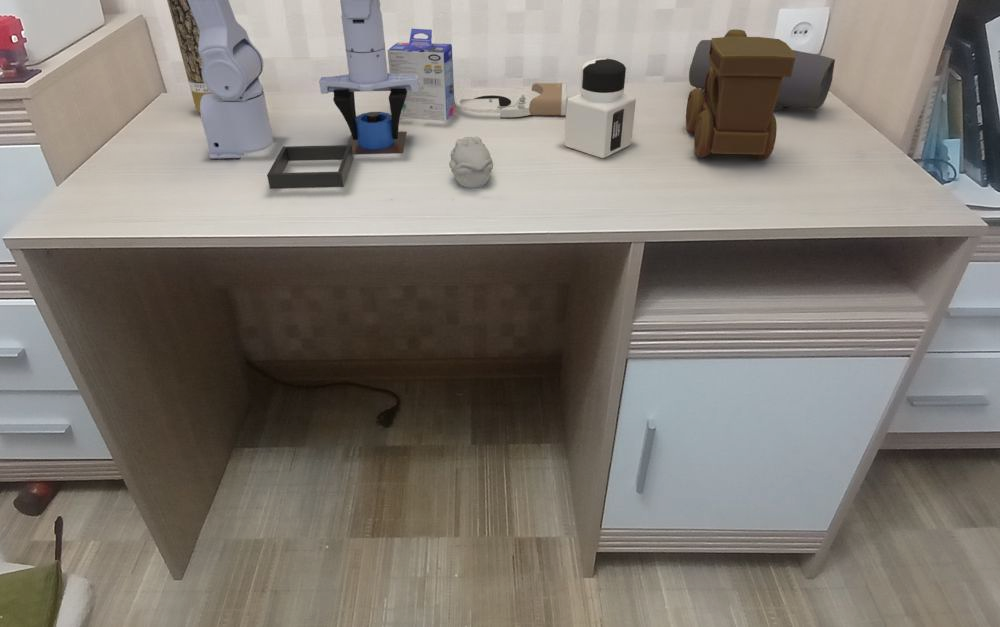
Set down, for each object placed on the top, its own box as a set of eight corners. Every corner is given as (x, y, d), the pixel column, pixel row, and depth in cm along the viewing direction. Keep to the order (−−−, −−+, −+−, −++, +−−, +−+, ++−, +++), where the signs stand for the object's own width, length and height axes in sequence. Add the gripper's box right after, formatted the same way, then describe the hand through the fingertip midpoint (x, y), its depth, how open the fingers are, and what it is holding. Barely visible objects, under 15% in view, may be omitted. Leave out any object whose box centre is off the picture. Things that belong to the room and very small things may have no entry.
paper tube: (244, 107, 128) (210, -46, 113) (213, 118, 123) (174, -39, 109) (219, 101, 131) (183, -49, 116) (188, 111, 126) (146, -43, 112)
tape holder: (344, 160, 108) (339, 125, 104) (352, 138, 115) (347, 104, 112) (403, 159, 108) (400, 123, 105) (407, 137, 115) (404, 103, 112)
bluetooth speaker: (683, 99, 129) (691, 42, 123) (702, 85, 135) (711, 31, 130) (811, 123, 119) (826, 63, 113) (825, 107, 125) (840, 49, 119)
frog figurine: (484, 174, 103) (483, 128, 99) (501, 193, 98) (500, 145, 94) (444, 180, 101) (441, 134, 97) (459, 200, 96) (457, 152, 92)
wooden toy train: (776, 172, 103) (803, 55, 93) (696, 170, 104) (715, 54, 94) (748, 123, 119) (770, 19, 109) (680, 121, 120) (695, 18, 110)
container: (632, 145, 112) (640, 61, 104) (603, 159, 107) (610, 73, 100) (592, 133, 116) (598, 51, 108) (563, 146, 111) (567, 62, 104)
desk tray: (271, 194, 98) (266, 174, 96) (286, 165, 106) (282, 146, 105) (344, 193, 98) (341, 173, 97) (354, 163, 107) (351, 144, 105)
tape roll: (356, 149, 108) (353, 124, 106) (360, 136, 113) (357, 111, 111) (392, 149, 109) (390, 123, 106) (395, 135, 113) (393, 111, 111)
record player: (566, 101, 119) (449, 100, 121) (565, 119, 121) (450, 118, 123) (566, 80, 129) (458, 79, 130) (565, 97, 131) (459, 96, 132)
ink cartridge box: (456, 115, 124) (452, 28, 115) (448, 126, 119) (444, 37, 111) (403, 111, 125) (395, 26, 117) (393, 122, 121) (384, 34, 112)
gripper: (310, 56, 99) (325, 147, 107) (413, 54, 99) (420, 145, 107) (318, 42, 105) (332, 130, 113) (416, 41, 105) (422, 128, 113)
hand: (375, 137), depth 110 cm, fingers closed on tape roll, 5 cm apart
